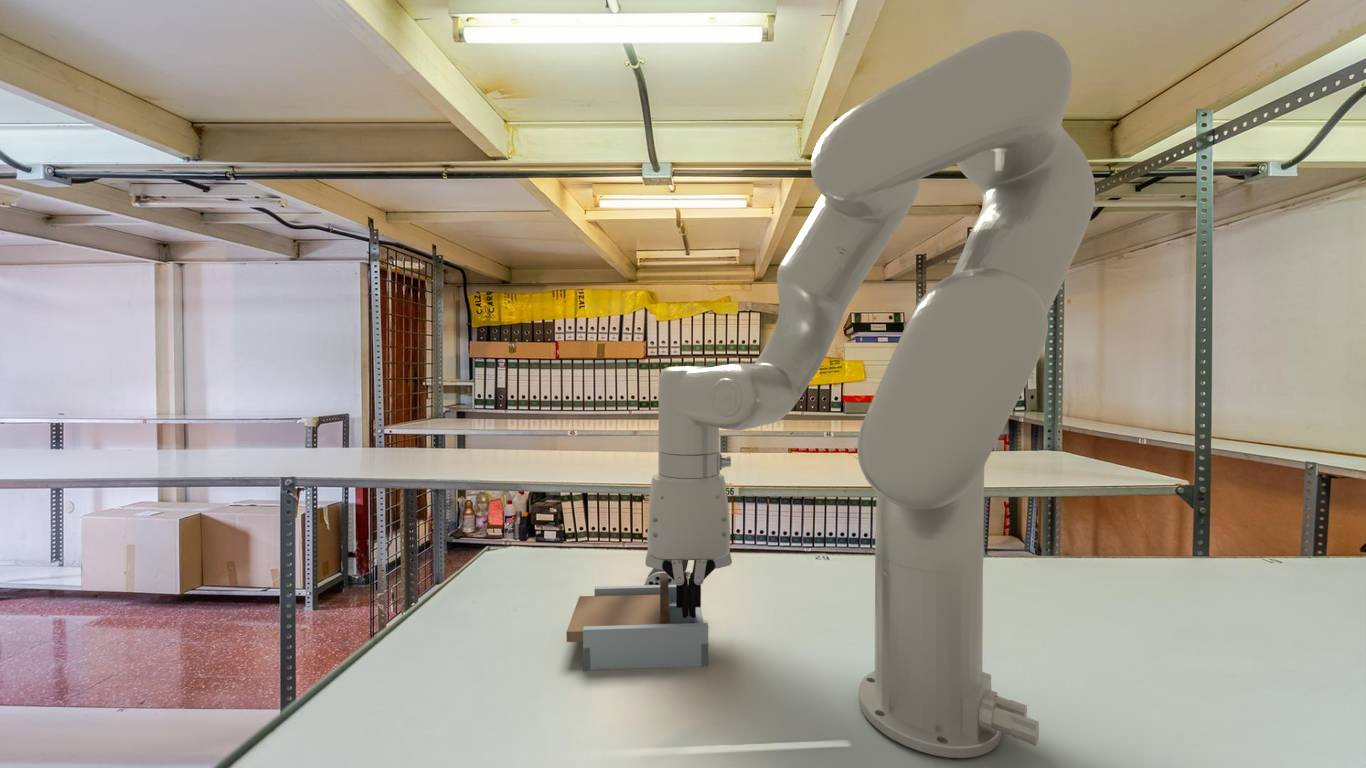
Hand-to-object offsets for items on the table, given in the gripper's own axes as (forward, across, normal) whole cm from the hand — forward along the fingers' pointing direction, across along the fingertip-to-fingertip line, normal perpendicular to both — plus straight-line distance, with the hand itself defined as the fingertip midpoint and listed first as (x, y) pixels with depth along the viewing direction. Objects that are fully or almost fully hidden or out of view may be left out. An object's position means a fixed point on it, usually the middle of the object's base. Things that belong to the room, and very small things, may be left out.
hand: (688, 612), depth 65 cm
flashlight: (+4, +2, -17) cm, 17 cm away
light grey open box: (+4, +5, 0) cm, 7 cm away
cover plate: (+1, +8, 0) cm, 8 cm away
